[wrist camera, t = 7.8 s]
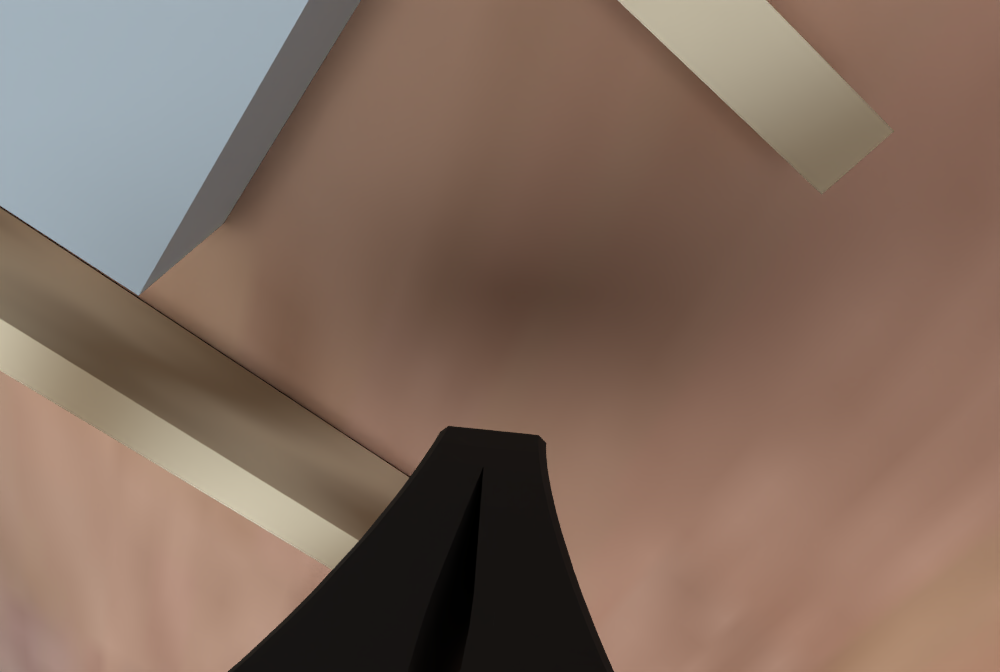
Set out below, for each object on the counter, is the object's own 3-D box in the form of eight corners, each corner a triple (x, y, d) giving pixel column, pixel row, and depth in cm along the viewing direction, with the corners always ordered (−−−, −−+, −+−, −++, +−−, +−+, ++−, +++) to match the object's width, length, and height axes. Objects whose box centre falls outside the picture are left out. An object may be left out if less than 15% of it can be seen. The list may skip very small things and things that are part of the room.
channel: (838, 92, 12) (959, 176, 8) (395, 511, 18) (342, 674, 14) (143, -614, 9) (-214, -1038, 5) (-111, 187, 15) (-359, 282, 11)
